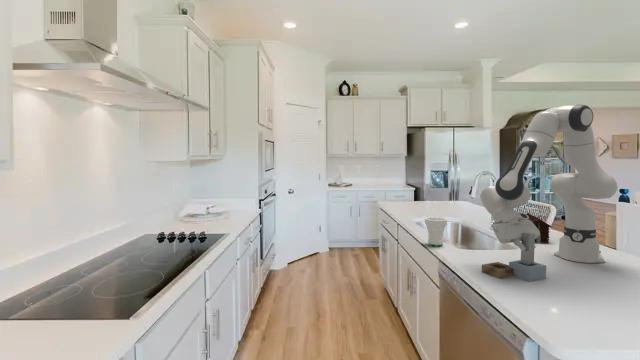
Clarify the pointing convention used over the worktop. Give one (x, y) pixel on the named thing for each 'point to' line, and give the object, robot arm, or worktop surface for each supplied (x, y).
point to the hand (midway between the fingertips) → (529, 249)
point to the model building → (540, 229)
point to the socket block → (498, 270)
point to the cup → (435, 230)
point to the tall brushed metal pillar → (528, 249)
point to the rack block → (528, 271)
